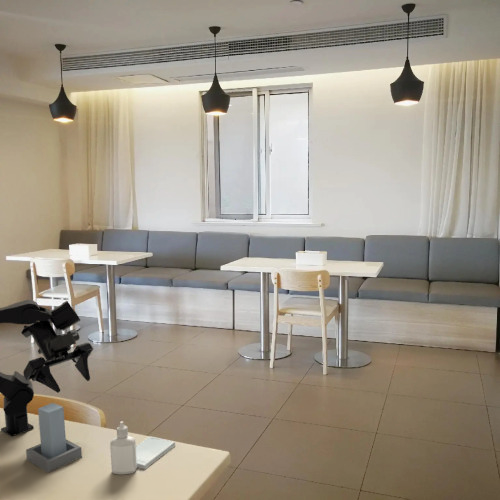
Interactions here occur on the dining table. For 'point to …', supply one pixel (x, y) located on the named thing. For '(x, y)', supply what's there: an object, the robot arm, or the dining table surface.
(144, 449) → the hard drive
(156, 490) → the dining table surface
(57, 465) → the frame
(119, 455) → the eye dropper bottle
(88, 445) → the dining table surface
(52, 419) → the block
